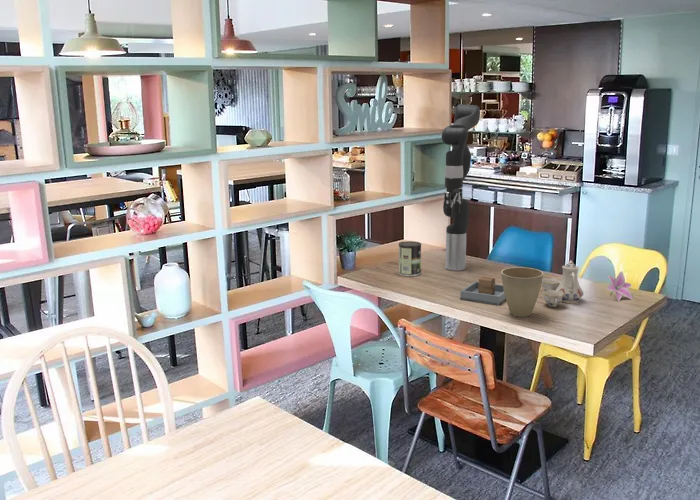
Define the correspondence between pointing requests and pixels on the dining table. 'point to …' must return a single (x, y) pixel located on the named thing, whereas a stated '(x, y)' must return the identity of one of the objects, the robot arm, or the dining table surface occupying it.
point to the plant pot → (521, 289)
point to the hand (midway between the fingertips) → (453, 214)
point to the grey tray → (472, 294)
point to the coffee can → (409, 258)
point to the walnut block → (487, 285)
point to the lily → (619, 286)
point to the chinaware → (563, 287)
